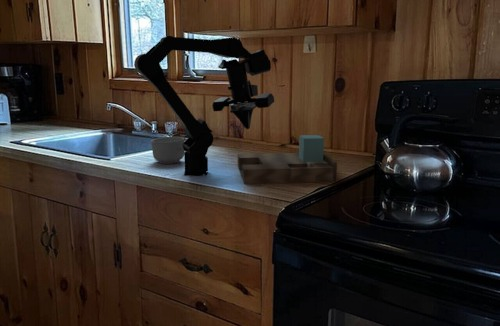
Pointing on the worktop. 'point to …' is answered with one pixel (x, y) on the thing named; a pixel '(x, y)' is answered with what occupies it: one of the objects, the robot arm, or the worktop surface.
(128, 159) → the worktop surface
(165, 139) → the teacup
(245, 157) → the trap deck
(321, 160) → the teal block
